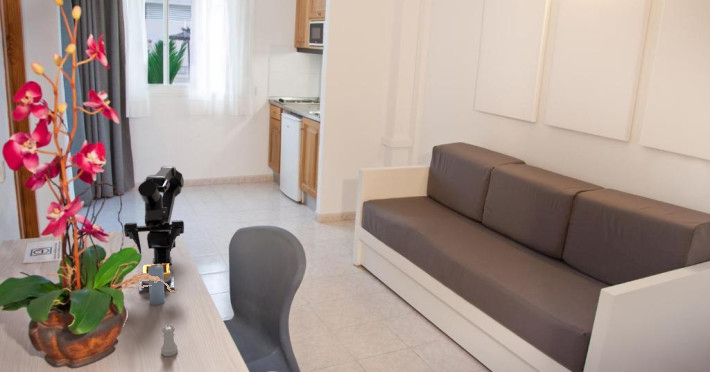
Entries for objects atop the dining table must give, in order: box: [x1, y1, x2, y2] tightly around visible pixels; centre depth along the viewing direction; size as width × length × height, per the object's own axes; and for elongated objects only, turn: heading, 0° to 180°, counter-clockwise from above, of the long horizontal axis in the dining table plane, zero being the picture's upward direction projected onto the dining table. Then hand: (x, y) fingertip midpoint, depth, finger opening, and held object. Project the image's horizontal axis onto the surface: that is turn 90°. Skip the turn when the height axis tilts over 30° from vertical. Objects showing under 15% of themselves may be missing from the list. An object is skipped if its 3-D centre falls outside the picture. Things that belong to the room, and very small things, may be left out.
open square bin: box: [138, 263, 175, 294], centre depth 194 cm, size 11×11×6 cm
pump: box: [148, 264, 166, 306], centre depth 181 cm, size 6×4×12 cm
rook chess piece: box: [160, 324, 179, 358], centre depth 157 cm, size 4×4×8 cm
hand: (155, 252), depth 188 cm, fingers open, 9 cm apart
